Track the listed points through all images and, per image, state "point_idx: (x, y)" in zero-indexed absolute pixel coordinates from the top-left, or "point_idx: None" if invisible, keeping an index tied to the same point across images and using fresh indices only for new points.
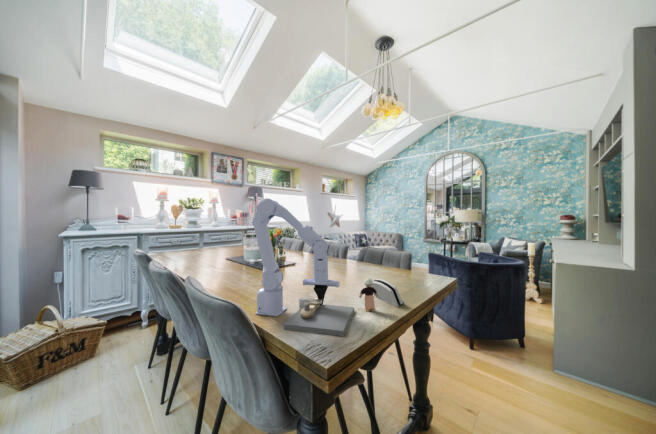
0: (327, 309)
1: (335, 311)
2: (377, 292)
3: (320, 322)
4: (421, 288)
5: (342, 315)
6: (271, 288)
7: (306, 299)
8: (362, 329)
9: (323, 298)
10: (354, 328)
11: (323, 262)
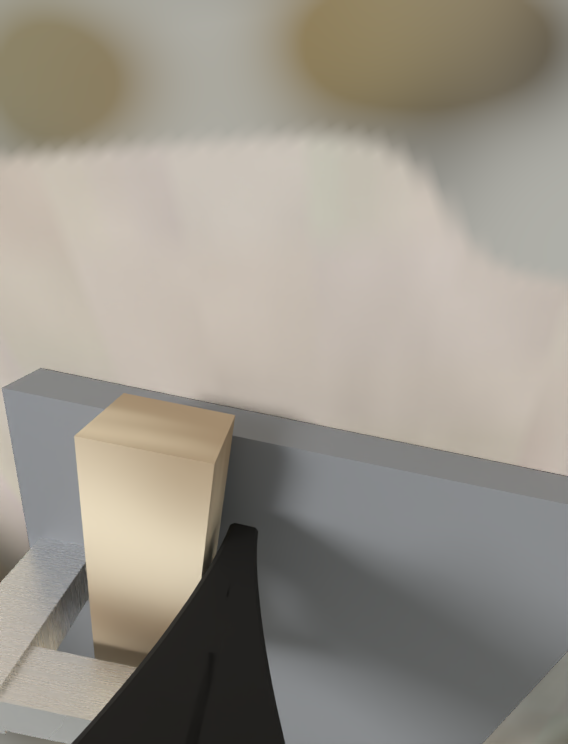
0: (323, 567)
1: (410, 609)
2: None
3: (285, 728)
4: None
5: (467, 672)
6: None
7: (30, 732)
8: (562, 726)
9: (252, 598)
10: (512, 715)
11: None
